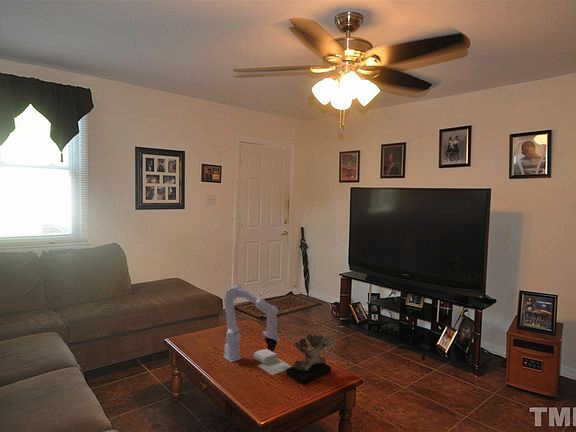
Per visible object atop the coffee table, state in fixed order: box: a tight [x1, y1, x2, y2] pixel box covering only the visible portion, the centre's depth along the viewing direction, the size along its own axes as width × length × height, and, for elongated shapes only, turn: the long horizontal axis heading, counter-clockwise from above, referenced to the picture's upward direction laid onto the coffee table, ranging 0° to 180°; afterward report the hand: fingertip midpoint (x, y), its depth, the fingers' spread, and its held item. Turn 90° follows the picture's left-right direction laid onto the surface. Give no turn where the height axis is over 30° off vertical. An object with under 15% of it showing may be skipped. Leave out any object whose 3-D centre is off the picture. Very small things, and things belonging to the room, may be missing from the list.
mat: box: [257, 358, 293, 376], centre depth 216 cm, size 14×15×1 cm
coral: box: [285, 333, 335, 386], centre depth 207 cm, size 25×20×21 cm
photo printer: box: [253, 348, 279, 364], centre depth 225 cm, size 10×4×12 cm
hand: (271, 350), depth 219 cm, fingers closed
